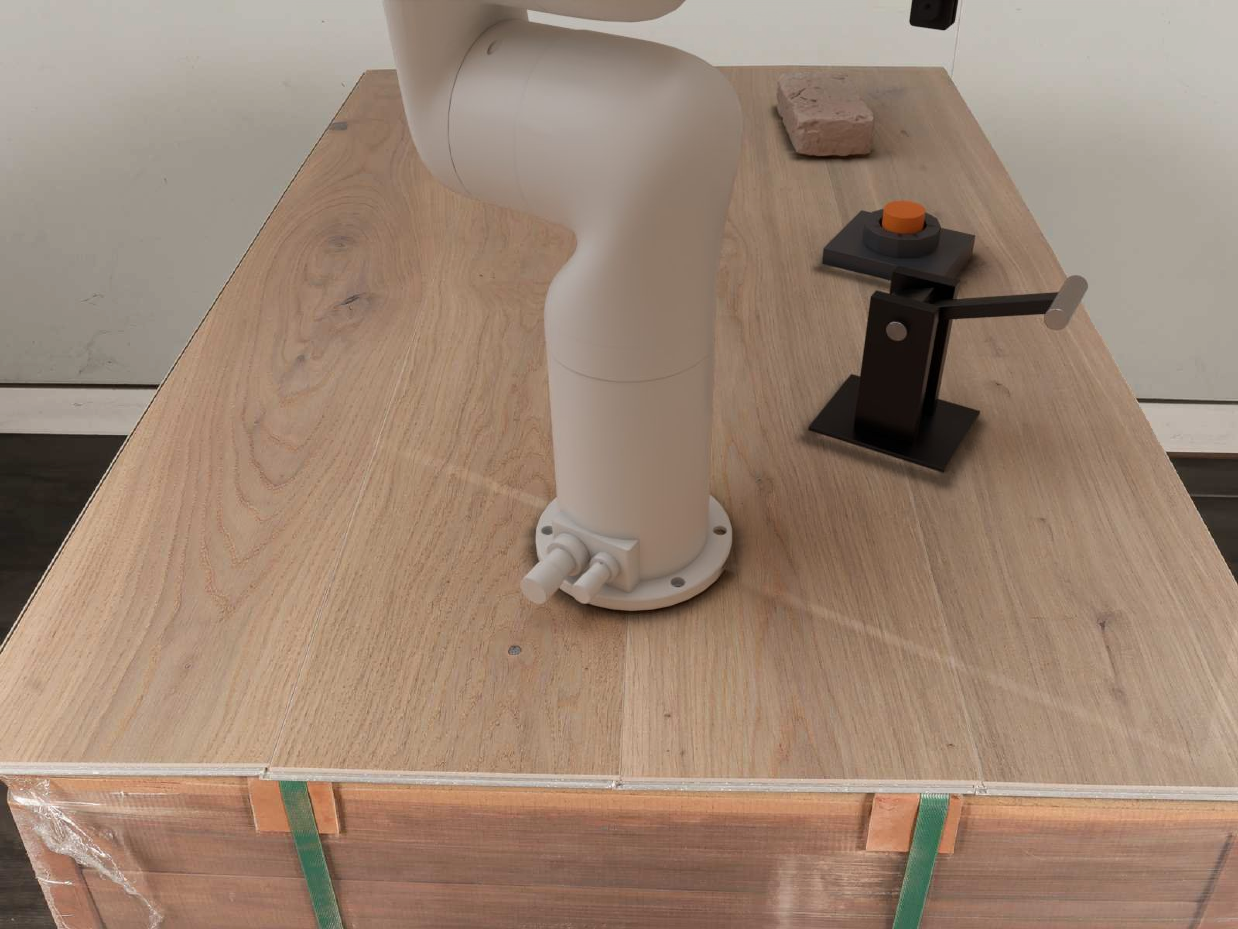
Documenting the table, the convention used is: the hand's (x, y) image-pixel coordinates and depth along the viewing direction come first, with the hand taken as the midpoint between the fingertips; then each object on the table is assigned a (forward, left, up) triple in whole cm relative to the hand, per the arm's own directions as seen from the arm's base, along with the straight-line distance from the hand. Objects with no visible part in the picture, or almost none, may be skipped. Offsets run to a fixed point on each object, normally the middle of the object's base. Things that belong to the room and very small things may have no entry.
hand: (931, 24), depth 89 cm
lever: (-25, -14, -11) cm, 31 cm away
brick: (+26, +19, -21) cm, 39 cm away
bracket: (-25, -9, -21) cm, 34 cm away
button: (0, 0, -18) cm, 18 cm away
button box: (0, 0, -21) cm, 21 cm away
